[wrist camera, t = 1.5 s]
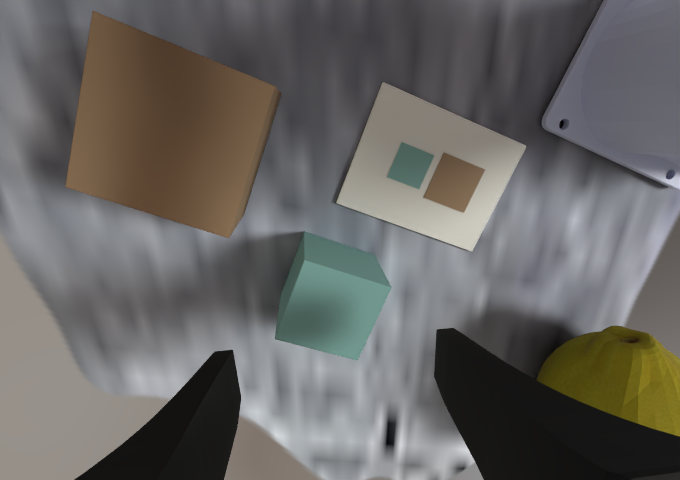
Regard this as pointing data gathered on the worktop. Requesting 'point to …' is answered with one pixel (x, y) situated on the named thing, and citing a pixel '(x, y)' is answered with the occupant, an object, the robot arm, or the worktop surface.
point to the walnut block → (167, 129)
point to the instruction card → (428, 169)
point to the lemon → (619, 376)
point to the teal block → (331, 297)
